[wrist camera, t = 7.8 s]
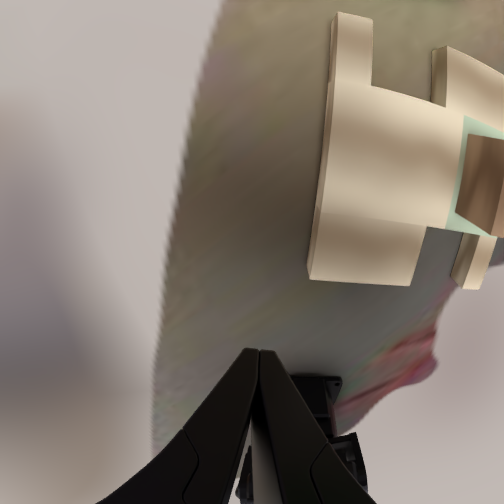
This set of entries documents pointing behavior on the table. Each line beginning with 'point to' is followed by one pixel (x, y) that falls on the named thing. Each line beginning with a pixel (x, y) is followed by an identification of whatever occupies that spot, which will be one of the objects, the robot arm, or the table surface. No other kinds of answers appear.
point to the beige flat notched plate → (397, 164)
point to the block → (483, 184)
